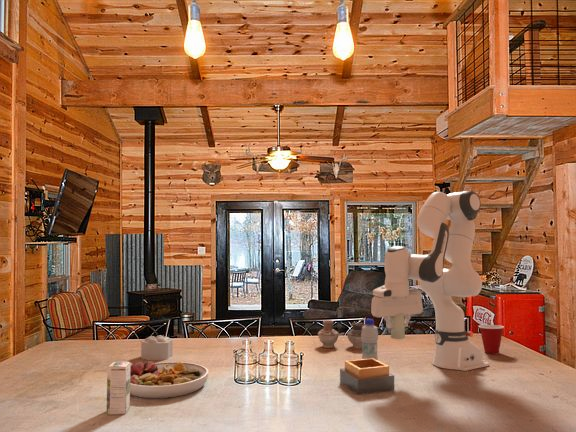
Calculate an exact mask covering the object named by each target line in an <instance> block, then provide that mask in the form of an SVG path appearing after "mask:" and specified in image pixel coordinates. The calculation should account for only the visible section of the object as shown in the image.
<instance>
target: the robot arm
mask: <svg viewBox="0 0 576 432" xmlns="http://www.w3.org/2000/svg"><path fill="white" fill-rule="evenodd" d="M480 209H481V199H480V196H479V195H478V193H476V192H475V191H473V190H464V191H456V192H450V193H448V194H446V193H445V192H442V191H434V192H432V193H431V194H429V196H428V197H427V199H426V200H425V201H424V203H423V204H422V206H421V208H420V210H419V212H418V214H417V217H416V225H417V227H418V229H419V230H420V232H421V233H423V235H425V236H426V237H429V238H432V239H433V242H432V246H431V250H430V252H429V253H426V254H413V253H411V252H409V251H408V249H407V247H406V246H402V245H396V246H391V247H388V248H387V249H386V251H385V254H384V273H385V278H384V279H385V280H384V284H383V285H381V286H378V287H376V288H375V289H373V290H372V295H373V297H372V298H371V303H370V304H371V307H370V312H371V315H372V316H373V317H374V318H383V319H384V321H385V323H386V327H387V329H390V330H391V328H393V324H392V323H391V316H396V314H404V320H405V328H408V327H409V321H410V320H411V318H412V315H421V314H422V313H423V312H424V310H423V309H424V308H423V307H424V306H423V301H422V291H423V292H424V293H425V294H426V295H427V296H428V297H429V299H430V301H431V302H432V305H433V308H434V312H435V315H434V316H435V329H434V339H435V340H434V342H435V348H434V354H433V359H432V362H431V364H432V365H434V366H435V367H437V368H440V369H441V368H442V369H447V370H457V371H464V372H465V371H466V372H467V371H471V370H475V369H480V368H484V367H489V366H490V362H489V361H487V360H485V359H484V357H483V352H482V350H481V348H480V347H478V346H477V345H476V344H474V342H472V341H471V340H470V339H469V337H471V338H472V337H473V336H474V332H473V331H471V330H468V331H467V330H465V312H464V310H463V309H462V307H460V306H459V305H457V304H456V303H455V302H454V300H453V298H452V297H460V298H469V297H476V296H478V295H479V294H480V292H481V291H482V288H483V280H482V277H481V275H480V274H479V273H478V272H477V270H475V269H474V267H473V265H472V262H471V260H472V259H471V257H472V251H473V246H474V241H475V236H476V224H475V221H474V220H475V219H476V218H477V215H478V213H479V212H480ZM447 221H450V226H448V225H447ZM445 260H446V261H447V262H448V263H450V264H451V265H452V266H451V268H444V267H445V265H444V264H445V263H444V261H445ZM410 280H412V281H413V280H414V281H418V284H419V286H420V289H421V290H422V291H421V290H420V289H417V288H414V289H413V288H410Z"/></svg>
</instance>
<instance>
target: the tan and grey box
mask: <svg viewBox="0 0 576 432" xmlns="http://www.w3.org/2000/svg"><path fill="white" fill-rule="evenodd" d="M339 383H340V384H341V385H343V386H345V387H346V388H348V390H350V391H352V392H353V393H355V395H365V394H366V395H367V394H373V393H374V394H375V393H382V392H391V391H395V375H394V374H392V373H391V372H390V365H387V364H385V363H383V362H382V361H380V360H379V359H378V360H376V359H374V358H369V359H362V358H361V359H350V360H344V367H343V368H339Z"/></svg>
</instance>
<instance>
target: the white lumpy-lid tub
mask: <svg viewBox="0 0 576 432" xmlns="http://www.w3.org/2000/svg"><path fill="white" fill-rule="evenodd" d="M140 343H141V344H140V357H141V359H142V360H147V361H165V359H166V360H169V359H170V358H171V357H173V356H174V355H173V351H174V350H173V348H174V347H173V345H174V343H173V338H170V337H168V336H163V335H161V334H160V335H157V336H154V335H152V336H151V335H150V336H148V337H146V338H144V339H142V340H140Z"/></svg>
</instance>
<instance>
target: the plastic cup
mask: <svg viewBox="0 0 576 432" xmlns="http://www.w3.org/2000/svg"><path fill="white" fill-rule="evenodd" d="M478 328H479V330H480V334H481V340H482V345H483V349H484V353H486V354H490V355H498V354H499V352H500V347H501V343H502V341H501V340H502V337H503V332H504V331H503V330H504V329H505V326H503V325H497V324H480V325H478Z"/></svg>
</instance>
